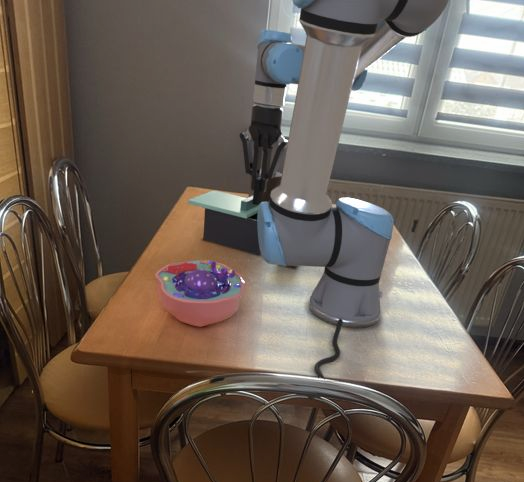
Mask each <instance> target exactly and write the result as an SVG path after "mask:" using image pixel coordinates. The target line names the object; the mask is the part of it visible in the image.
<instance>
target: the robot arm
mask: <svg viewBox="0 0 524 482" xmlns="http://www.w3.org/2000/svg"><path fill="white" fill-rule="evenodd" d="M291 1H292V3H293V5H294V6H295V7H297V8H298V9H300V13H299V19H298V20H299V23H300V25H301V27H302V29H303V31H304V32H305V36H306V37H305V43H304V44H299V43H293V35H292V33H290V32H286V31H280V30H273V29H262V30H261V31H260V33H259V38H258V39H259V40H258V43H257V47H256V48H257V55H256V67H255V78H254V79H255V80H254V87H253V95H252V102H253V105H252V106H251V117H250V121H251V122H250V125H249V126H248V129H247V130H246V131H243V132H240V133H239V138H240V141H241V143H242V152H243V161H244V162H243V163H244V169H245V174H246V175H250V177H251V176H252V183H251V190H254V193H253V203H252V204H255V205H259V208H258V215H257V228H258V241H259V247H260V252H261V253H260V255H261V258H262V259H263V261H264V262H265V263H267V264H268V265H275V266H276V265H277V266H282V267H287V266H286V265H290V266H296V267H314V268H315V267H316V268H318V267H319V268H323V269H324V270H323V273H322V276H321V277H320V278H319V281H318V282H317V283H316V286H315V288H314V289H313V291H312V292H311V295H310V297H309V302H308V308H309V311H310V312H311V313H312V314H313V315H314V316H315V317H317V318H318V319H320V321H321V320H322V321H324V322H326V323H328V324H331V325H334V326H336V328H335V331H334V333H333V337H332V343H331V344H332V347H333V350H334V355H332V356H329V357H325V358H322V359H320V360H318V361H317V362H316V363H315V365H314V367H313V368H314V373H315V374H316V377H317V378H318V377H321V378H324V379H325V377H324V374H323V373H322V371H321V369H320V368H321V366H324V365H326V364H328V363H332V362H334V361H336V360H337V359H338V358H340V356H341V350H340V347H339V345H338V338H339V335H340V332H341V329H342V327H343V328H349V329H362V328H368V327H371V326H374V325H376V324H377V323H378V321H379V319H380V315H381V309H382V307H381V299H382V297H383V293H384V292H383V291H380V285H379V284H380V280H381V276H382V272H383V269H384V265H385V262H386V258H387V254H388V249H389V246H390V243H391V240H392V238H393V235H392V234H393V230H394V229H393V228H394V222H395V219H394V217H393V215H392V214H391V213H390V212H389V211H387V210H386V209H385V208H383V207H380V206H378V205H376V204H373V203H370V202H368V201H364V200H362V199H357V198H351V197H341V198H339V199H337V202H335V206H333V202H332V200H331V198H330V197H329V195H328V194H327V193H328V188H329V184H330V182H331V176H332V171H333V168H334V164H335V160H336V155H337V151H338V147H339V143H340V138H341V135H342V131H343V126H344V122H345V117H346V113H347V109H348V106H349V101H350V97H351V93H352V91H353V92H356V91H359V90H361V88H362V87H363V85H364V83H365V81H366V79H367V75H368V69H369V68H370V67H371V66H373V65H374V64H375V63H376V62H377V61H379V60H380V59H381V58H383V56H385V55H386V54H388V53H389V51H391V50H393V49H394V48H395V47H396V46H397V45H398V44H400V43H401V42H402V41H403V40H405V39H406V38H411V37H416V36H418V35H420V34H422V33H424V32H425V31H426V30H427V29H428V28H430V27H431V26H432V25H433V24H434V23H435V22H436V21H437V20H438V19H439V18H440V17H441V15H442V14H443V12H444V11H445V9H446V8H447V5H448V3H449V1H450V0H291ZM291 84H292V85H297V89H296V94H295V98H294V99H295V100H294V105H293V111H292V117H291V122H290V128H289V134H288V139H285V137H284V136H283V131H282V122H283V114H284V109H283V108H282V107H284V106H285V98H286V91H287V85H291ZM251 139H252V141H253V149H252V141H251ZM276 143H277V148H276V150H275V153H274V155H273V159H272V152H273V149H274V146H275V145H276ZM285 150H286V151H285ZM284 153H285V156H284ZM283 156H284V160H283V168H282V173H281V174H282V178H281V184H280V185H278V186H277V187H275V188H274V189H273V190H272V191H271V194H270V200H269V202H266V201H265V202H262V196H263V192H265V191H266V189H267V181H268V179H271V178H273V177H275V175H276V172H278V169H279V167H280V164H281V161H282V159H283ZM271 161H272V162H271ZM260 169H261V174H260ZM260 175H261V177H259V176H260Z"/></svg>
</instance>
